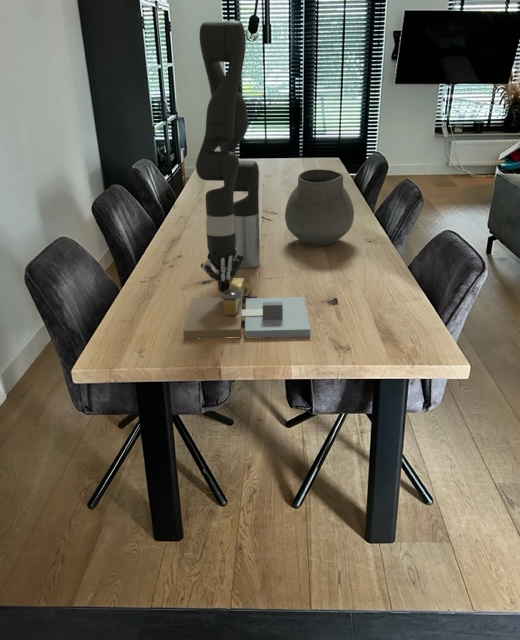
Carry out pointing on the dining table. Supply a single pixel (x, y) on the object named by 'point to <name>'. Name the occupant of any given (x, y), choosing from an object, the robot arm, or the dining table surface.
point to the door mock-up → (248, 318)
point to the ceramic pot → (319, 208)
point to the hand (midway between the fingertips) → (223, 292)
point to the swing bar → (233, 296)
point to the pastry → (246, 288)
